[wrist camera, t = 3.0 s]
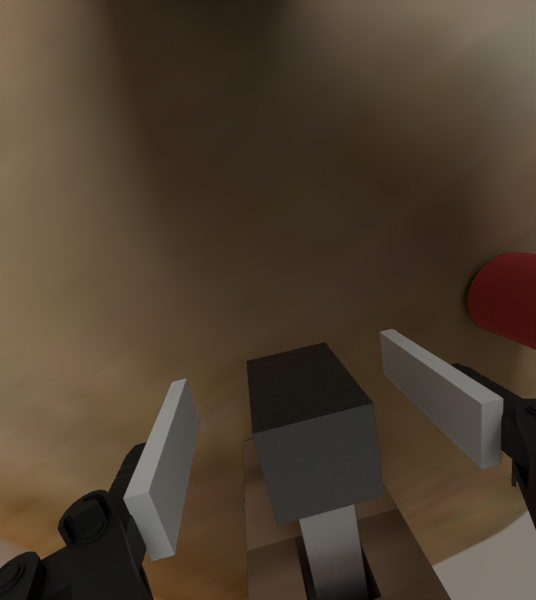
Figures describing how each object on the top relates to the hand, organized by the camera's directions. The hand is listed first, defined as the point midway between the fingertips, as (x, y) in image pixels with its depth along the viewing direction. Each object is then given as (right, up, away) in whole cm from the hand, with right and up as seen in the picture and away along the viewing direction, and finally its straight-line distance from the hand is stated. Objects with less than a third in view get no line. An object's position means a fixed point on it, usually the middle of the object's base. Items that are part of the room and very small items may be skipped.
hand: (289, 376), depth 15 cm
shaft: (+2, -9, +1) cm, 10 cm away
